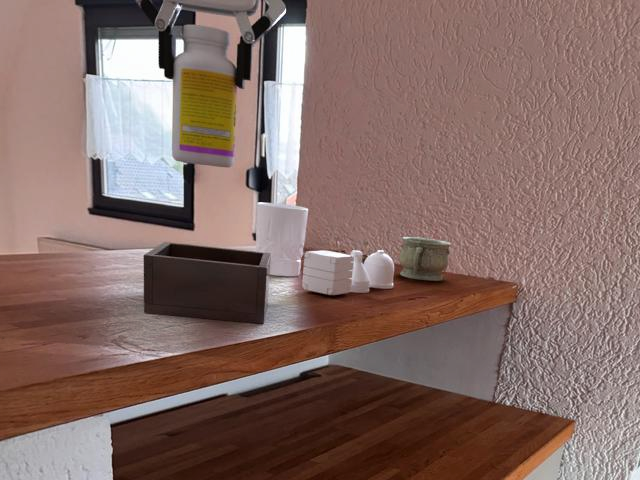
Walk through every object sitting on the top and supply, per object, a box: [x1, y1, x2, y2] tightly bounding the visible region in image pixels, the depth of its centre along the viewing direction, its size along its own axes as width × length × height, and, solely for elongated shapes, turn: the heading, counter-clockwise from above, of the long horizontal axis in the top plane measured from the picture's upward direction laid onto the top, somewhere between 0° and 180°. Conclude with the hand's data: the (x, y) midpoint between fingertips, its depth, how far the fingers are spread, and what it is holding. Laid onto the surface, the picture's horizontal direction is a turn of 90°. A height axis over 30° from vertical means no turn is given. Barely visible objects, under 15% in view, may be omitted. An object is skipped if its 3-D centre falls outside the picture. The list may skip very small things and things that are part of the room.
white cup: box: [255, 201, 309, 277], centre depth 113 cm, size 8×8×10 cm
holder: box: [143, 241, 271, 325], centre depth 84 cm, size 13×13×6 cm
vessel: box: [398, 236, 452, 282], centre depth 128 cm, size 12×9×6 cm
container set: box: [301, 249, 395, 296], centre depth 107 cm, size 20×5×6 cm, turn 150°
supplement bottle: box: [171, 24, 238, 168], centre depth 77 cm, size 7×7×13 cm
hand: (205, 81), depth 77 cm, fingers closed on supplement bottle, 6 cm apart
